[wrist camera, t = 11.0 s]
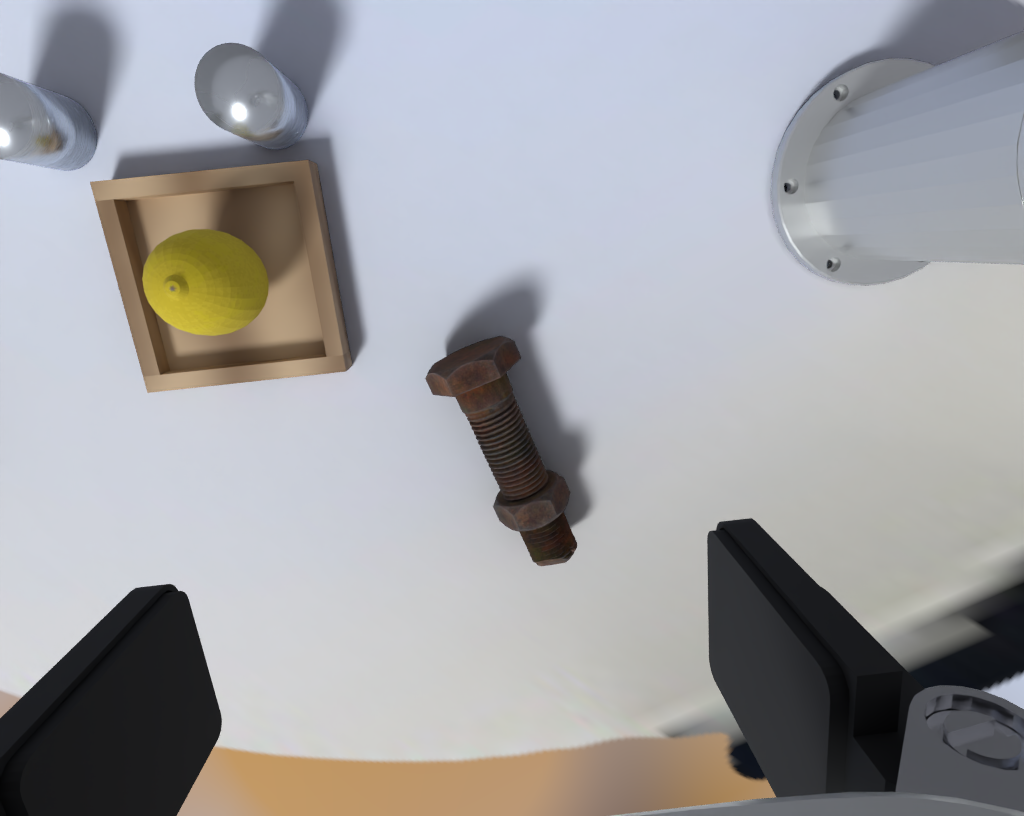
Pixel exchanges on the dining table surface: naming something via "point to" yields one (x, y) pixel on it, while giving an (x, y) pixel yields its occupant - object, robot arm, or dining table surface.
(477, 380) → the bolt
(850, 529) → the dining table surface
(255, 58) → the cylinder
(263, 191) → the tray
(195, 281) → the lemon
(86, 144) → the cylinder
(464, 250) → the dining table surface
